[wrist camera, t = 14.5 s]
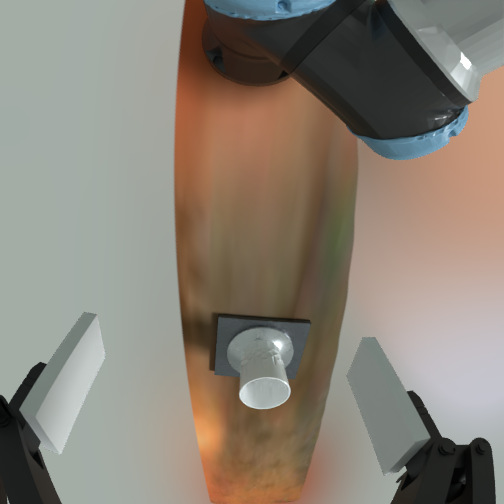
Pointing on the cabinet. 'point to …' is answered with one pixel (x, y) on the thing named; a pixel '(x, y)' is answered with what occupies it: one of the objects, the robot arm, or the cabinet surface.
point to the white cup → (263, 376)
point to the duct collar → (256, 328)
